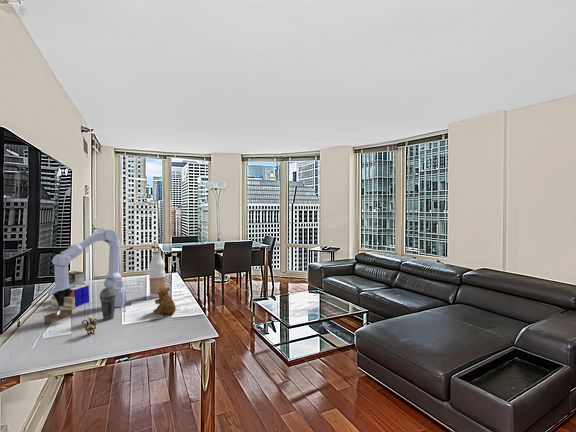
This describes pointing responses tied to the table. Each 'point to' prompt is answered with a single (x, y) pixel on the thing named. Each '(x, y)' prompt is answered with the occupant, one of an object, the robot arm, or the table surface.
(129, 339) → the table surface
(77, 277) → the coffee box
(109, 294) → the beverage cup
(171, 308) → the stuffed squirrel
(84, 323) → the figurine
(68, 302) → the beige wooden plank
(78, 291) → the puzzle cube
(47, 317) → the notched walnut block
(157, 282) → the fruit juice
